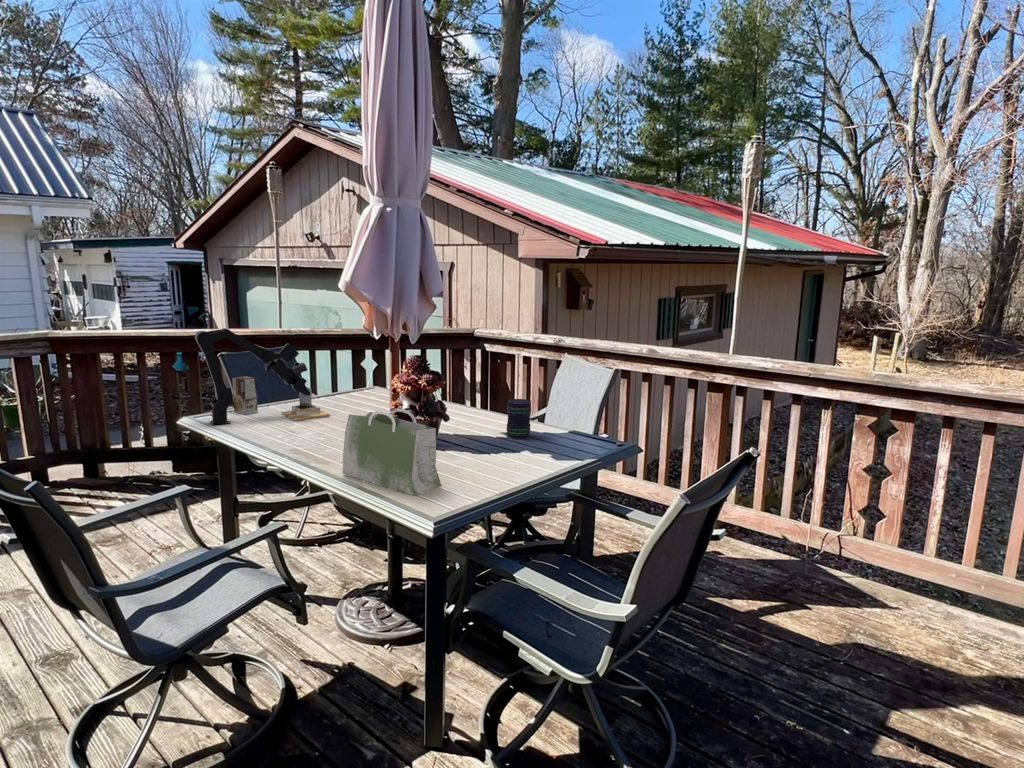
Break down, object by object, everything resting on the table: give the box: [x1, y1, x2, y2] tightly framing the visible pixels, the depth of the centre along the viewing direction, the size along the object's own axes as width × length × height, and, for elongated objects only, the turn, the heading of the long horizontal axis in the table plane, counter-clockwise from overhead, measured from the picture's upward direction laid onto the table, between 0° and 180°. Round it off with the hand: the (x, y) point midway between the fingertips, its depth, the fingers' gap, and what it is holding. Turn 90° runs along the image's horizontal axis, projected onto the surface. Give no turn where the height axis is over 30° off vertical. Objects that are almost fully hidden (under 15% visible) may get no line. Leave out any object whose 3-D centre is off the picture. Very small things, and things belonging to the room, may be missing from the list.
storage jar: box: [506, 398, 532, 440], centre depth 259 cm, size 10×10×15 cm
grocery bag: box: [342, 407, 442, 497], centre depth 199 cm, size 32×14×23 cm, turn 57°
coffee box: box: [232, 375, 259, 416], centre depth 285 cm, size 9×6×16 cm
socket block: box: [281, 403, 331, 422], centre depth 284 cm, size 16×16×4 cm
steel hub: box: [298, 386, 313, 409], centre depth 283 cm, size 5×5×10 cm
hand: (308, 393), depth 284 cm, fingers closed on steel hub, 5 cm apart
